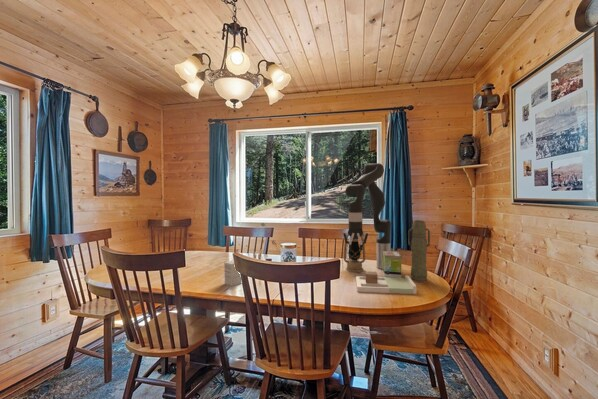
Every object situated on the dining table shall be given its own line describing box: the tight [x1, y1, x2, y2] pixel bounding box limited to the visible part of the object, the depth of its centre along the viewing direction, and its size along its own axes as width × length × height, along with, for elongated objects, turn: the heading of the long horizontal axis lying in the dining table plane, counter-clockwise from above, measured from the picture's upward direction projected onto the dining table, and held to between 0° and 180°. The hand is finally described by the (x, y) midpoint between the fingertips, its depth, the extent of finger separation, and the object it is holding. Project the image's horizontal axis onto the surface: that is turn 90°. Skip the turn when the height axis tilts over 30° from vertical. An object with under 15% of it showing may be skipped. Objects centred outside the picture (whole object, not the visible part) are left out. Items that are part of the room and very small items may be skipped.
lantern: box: [343, 234, 366, 273], centre depth 200 cm, size 14×12×30 cm
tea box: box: [382, 250, 403, 278], centre depth 182 cm, size 15×10×15 cm, turn 168°
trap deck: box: [355, 275, 418, 295], centre depth 162 cm, size 20×30×4 cm
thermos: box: [407, 219, 431, 283], centre depth 175 cm, size 9×12×35 cm
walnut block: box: [364, 270, 379, 284], centre depth 163 cm, size 6×6×5 cm
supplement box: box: [223, 260, 242, 287], centre depth 170 cm, size 7×7×13 cm
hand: (355, 251), depth 164 cm, fingers open, 4 cm apart
